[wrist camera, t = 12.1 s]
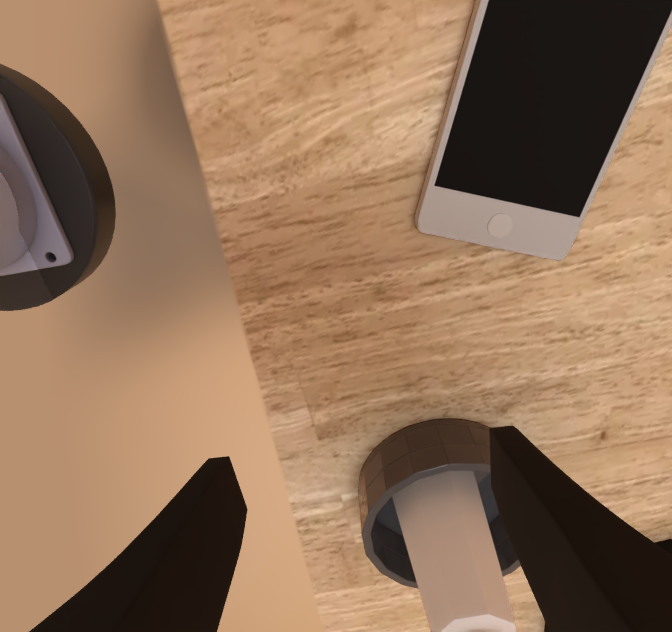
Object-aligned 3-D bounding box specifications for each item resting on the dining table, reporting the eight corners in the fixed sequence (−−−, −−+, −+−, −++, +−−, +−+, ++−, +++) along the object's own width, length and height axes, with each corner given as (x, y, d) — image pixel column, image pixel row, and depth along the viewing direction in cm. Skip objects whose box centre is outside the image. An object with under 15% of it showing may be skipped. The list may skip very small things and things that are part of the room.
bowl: (370, 547, 28) (375, 601, 25) (346, 431, 24) (349, 477, 21) (519, 528, 28) (544, 580, 25) (521, 405, 24) (551, 449, 20)
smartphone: (411, 227, 19) (414, 232, 18) (550, -266, 13) (566, -295, 12) (555, 257, 20) (566, 263, 19) (755, -196, 14) (784, -218, 13)
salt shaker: (487, 454, 24) (598, 684, 14) (463, 519, 27) (544, 758, 17) (396, 445, 24) (445, 676, 14) (379, 512, 26) (410, 751, 16)
